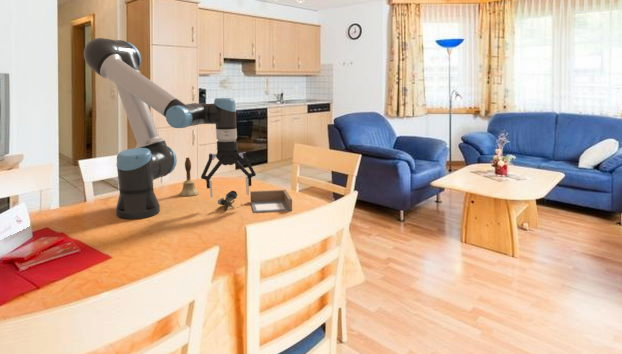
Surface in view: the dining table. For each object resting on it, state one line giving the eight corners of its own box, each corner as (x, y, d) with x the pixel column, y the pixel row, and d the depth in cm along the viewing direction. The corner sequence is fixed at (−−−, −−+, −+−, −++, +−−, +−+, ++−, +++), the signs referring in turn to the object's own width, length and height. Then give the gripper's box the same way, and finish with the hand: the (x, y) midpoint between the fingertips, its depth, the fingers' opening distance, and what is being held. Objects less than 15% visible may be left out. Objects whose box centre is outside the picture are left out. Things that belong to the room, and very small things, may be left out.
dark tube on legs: (240, 208, 164) (241, 197, 173) (229, 194, 162) (231, 184, 170) (224, 218, 165) (226, 207, 174) (212, 204, 163) (215, 194, 171)
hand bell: (178, 192, 190) (176, 156, 187) (197, 190, 194) (195, 155, 190) (181, 197, 183) (178, 160, 180) (200, 195, 186) (199, 158, 183)
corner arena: (254, 212, 163) (253, 201, 162) (250, 201, 177) (250, 191, 176) (292, 210, 166) (292, 199, 165) (285, 200, 180) (285, 189, 179)
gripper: (191, 142, 155) (195, 200, 160) (261, 140, 160) (263, 195, 165) (192, 140, 162) (196, 195, 167) (259, 137, 167) (261, 191, 172)
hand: (229, 195), depth 166 cm, fingers open, 13 cm apart
